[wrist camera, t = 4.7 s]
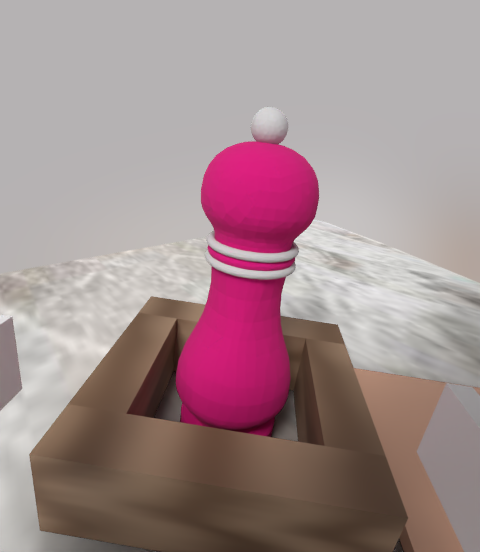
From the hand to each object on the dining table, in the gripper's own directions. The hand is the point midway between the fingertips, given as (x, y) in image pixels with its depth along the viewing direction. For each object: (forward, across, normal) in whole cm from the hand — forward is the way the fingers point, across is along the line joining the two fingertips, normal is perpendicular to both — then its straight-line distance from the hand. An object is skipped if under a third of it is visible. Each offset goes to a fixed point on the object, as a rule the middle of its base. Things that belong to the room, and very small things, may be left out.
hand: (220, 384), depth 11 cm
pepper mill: (+10, 0, -12) cm, 15 cm away
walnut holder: (+10, 0, -11) cm, 15 cm away
